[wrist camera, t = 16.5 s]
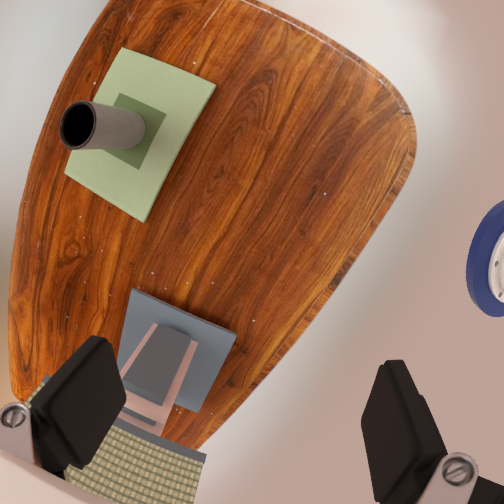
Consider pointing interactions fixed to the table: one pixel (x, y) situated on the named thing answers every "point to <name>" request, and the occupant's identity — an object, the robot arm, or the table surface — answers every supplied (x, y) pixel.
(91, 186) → the mat
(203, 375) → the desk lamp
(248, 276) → the table surface
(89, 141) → the gray hollow cylinder
